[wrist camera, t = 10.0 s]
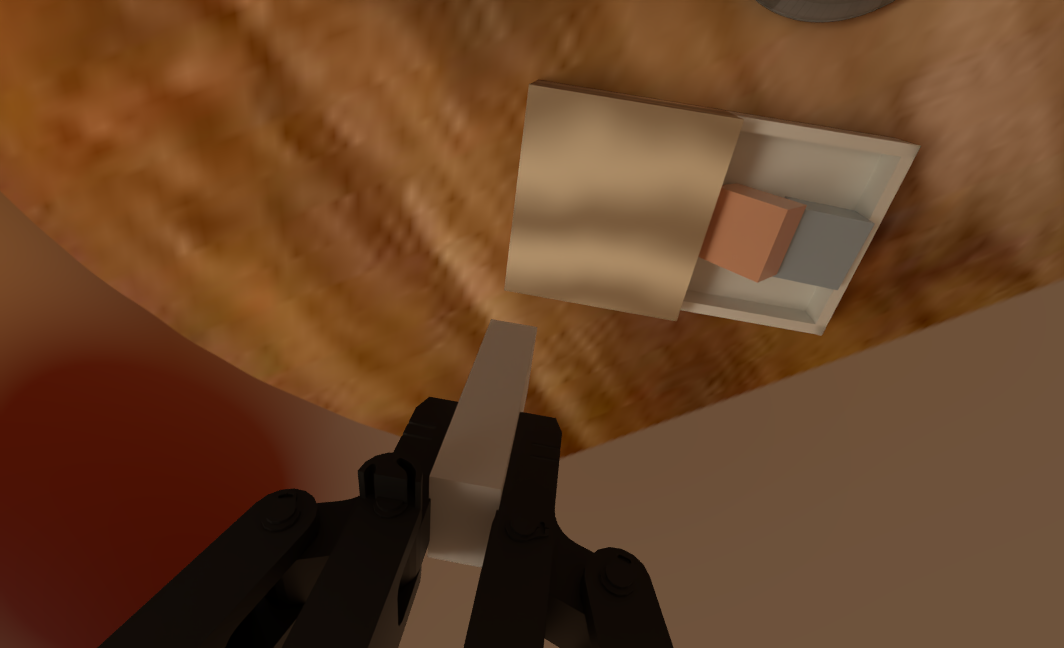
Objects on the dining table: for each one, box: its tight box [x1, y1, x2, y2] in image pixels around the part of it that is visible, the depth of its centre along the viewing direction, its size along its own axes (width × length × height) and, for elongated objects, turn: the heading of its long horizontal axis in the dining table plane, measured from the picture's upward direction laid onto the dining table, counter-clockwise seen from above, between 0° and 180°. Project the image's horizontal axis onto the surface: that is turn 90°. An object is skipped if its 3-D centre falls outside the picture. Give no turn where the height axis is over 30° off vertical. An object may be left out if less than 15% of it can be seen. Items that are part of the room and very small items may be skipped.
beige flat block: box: [504, 80, 744, 321], centre depth 35 cm, size 14×13×5 cm
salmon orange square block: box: [698, 183, 807, 283], centre depth 33 cm, size 5×5×3 cm
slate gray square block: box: [772, 196, 875, 290], centre depth 34 cm, size 5×5×3 cm
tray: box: [680, 111, 921, 335], centre depth 35 cm, size 14×12×3 cm
